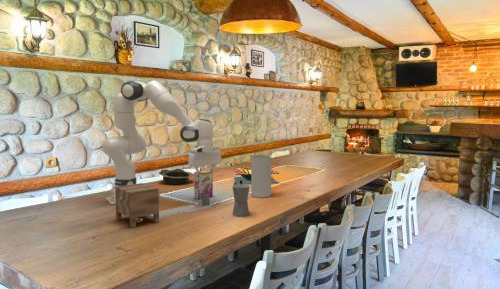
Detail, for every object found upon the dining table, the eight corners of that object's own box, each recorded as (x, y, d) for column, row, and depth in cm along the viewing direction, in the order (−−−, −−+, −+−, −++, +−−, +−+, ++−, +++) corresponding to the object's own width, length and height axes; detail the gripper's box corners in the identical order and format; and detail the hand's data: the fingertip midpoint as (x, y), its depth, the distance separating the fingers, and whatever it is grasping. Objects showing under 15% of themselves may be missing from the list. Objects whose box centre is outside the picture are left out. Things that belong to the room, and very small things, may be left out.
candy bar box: (198, 199, 229) (198, 173, 227) (193, 198, 232) (193, 172, 231) (213, 196, 237) (213, 170, 235) (208, 195, 240) (208, 169, 239)
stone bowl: (160, 179, 292) (161, 167, 291) (193, 181, 295) (194, 169, 294) (156, 185, 267) (157, 172, 267) (192, 187, 270) (193, 174, 270)
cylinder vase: (260, 199, 231) (260, 158, 228) (247, 195, 240) (247, 156, 238) (275, 196, 239) (275, 156, 237) (261, 192, 248) (261, 154, 246)
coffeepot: (254, 216, 194) (254, 181, 193) (237, 218, 190) (237, 183, 189) (242, 209, 208) (242, 176, 207) (226, 211, 204) (226, 178, 203)
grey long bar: (204, 204, 218) (203, 192, 217) (212, 207, 212) (212, 195, 211) (146, 216, 194) (146, 203, 194) (154, 220, 188) (153, 206, 188)
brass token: (130, 221, 187) (130, 219, 187) (139, 219, 190) (139, 217, 190) (134, 223, 183) (134, 221, 183) (144, 221, 187) (144, 219, 186)
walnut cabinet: (114, 219, 188) (113, 187, 187) (142, 214, 198) (141, 183, 196) (129, 228, 175) (128, 193, 173) (159, 222, 185) (158, 188, 183)
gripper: (216, 146, 220) (217, 170, 221) (186, 149, 206) (187, 174, 208) (223, 147, 215) (223, 171, 216) (193, 150, 202) (193, 175, 203)
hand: (205, 172), depth 212 cm, fingers open, 8 cm apart
